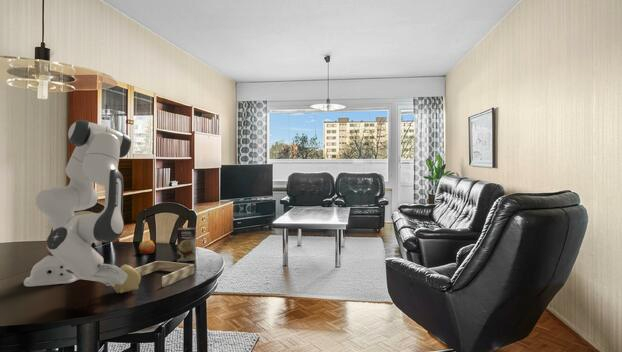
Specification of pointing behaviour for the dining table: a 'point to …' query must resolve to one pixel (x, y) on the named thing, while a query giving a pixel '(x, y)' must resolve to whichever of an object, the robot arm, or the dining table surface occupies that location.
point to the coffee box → (186, 244)
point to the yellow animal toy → (128, 280)
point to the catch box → (177, 270)
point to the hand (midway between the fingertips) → (112, 284)
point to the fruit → (147, 247)
